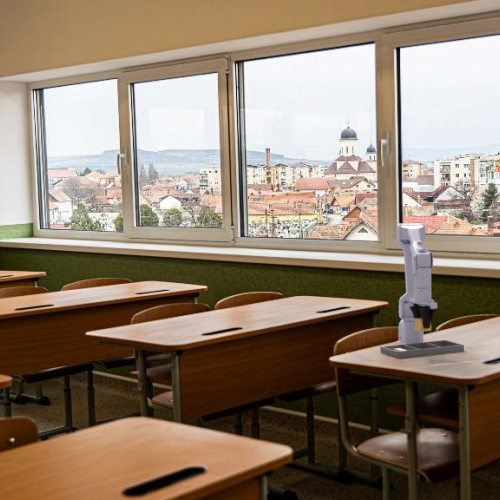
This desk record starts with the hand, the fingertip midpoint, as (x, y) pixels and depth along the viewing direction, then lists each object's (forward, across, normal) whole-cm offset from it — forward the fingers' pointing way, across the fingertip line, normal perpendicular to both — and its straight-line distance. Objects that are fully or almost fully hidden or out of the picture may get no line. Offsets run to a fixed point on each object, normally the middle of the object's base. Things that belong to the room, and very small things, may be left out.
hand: (423, 327), depth 311 cm
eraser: (+9, +3, +7) cm, 12 cm away
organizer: (+9, +3, -2) cm, 10 cm away
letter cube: (+1, 0, 0) cm, 1 cm away
